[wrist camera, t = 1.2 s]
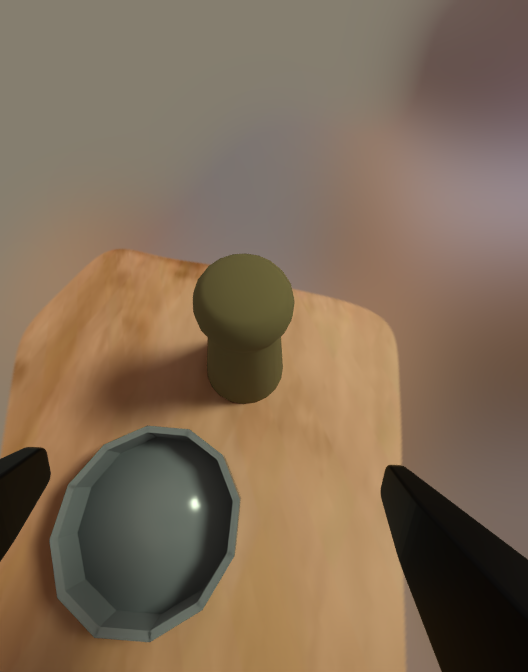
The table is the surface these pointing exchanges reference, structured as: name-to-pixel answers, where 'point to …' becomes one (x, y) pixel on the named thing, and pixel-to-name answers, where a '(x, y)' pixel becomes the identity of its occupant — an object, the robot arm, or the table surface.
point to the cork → (243, 324)
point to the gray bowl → (145, 533)
